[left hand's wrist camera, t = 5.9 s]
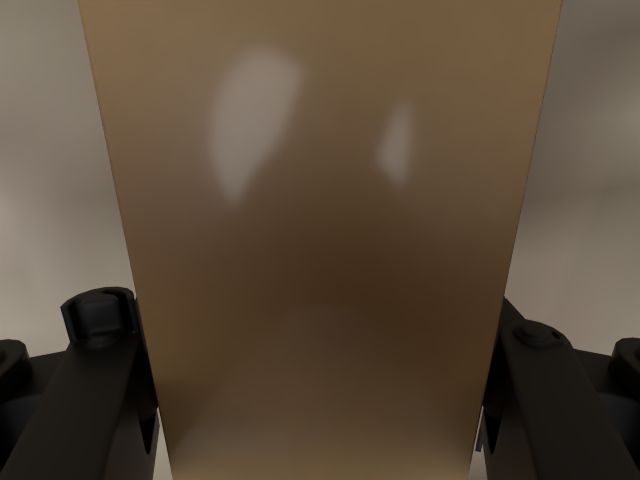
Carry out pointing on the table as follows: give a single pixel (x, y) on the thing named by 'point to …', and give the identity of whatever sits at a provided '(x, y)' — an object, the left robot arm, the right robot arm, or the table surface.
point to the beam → (320, 220)
